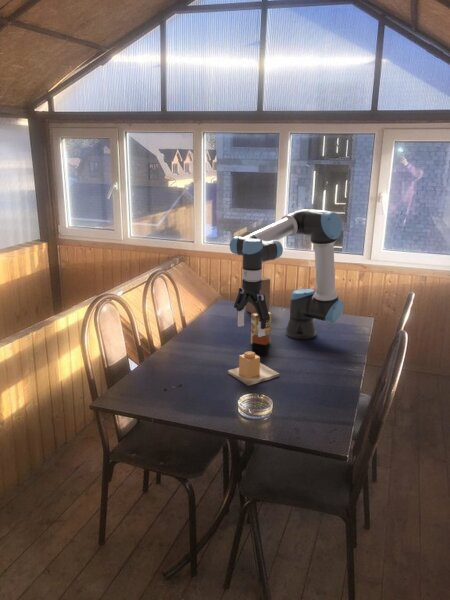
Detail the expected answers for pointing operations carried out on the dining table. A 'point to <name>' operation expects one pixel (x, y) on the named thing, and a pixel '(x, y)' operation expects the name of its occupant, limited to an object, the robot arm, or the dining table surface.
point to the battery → (260, 344)
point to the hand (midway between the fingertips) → (250, 330)
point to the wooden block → (264, 291)
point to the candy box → (255, 325)
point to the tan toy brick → (249, 365)
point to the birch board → (264, 375)
